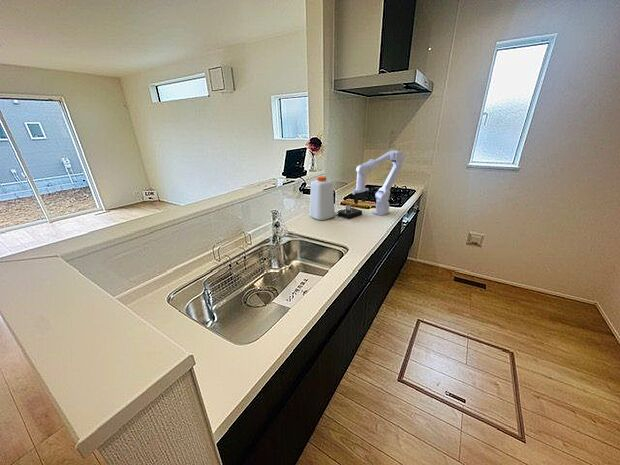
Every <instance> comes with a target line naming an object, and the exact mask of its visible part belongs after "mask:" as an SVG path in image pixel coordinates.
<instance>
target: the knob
mask: <svg viewBox="0 0 620 465" xmlns="http://www.w3.org/2000/svg"><path fill="white" fill-rule="evenodd" d="M351 208H352V205H351V204H346V205H345V209H344V210H345V211H346V212H350V211H351Z"/></svg>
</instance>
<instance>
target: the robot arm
mask: <svg viewBox="0 0 620 465" xmlns="http://www.w3.org/2000/svg"><path fill="white" fill-rule="evenodd" d="M404 159H405V154H404V152H403V151H402V150H397V149H391V150H389V151H387V152H386V153H384V154H382V155H380V156H379V157H377V158H375V159H373V158H372V159H371V158H369V159H368V161H366V162H363V163H362V164H359V165H357V166H356V168H355V172H356V186H355V187H356V188H355V189H354V190H352V191H351V196H352V199H353V202H354V204H355V205H358V203H359V198H360V197H361V202H362V203H366V200H367V197H368V195H369V194H370V190H369V189H370V188H369V187H366V177H367V176H366V175H367V174H368V172H370V171H372V170H373V169H375V168H377V165H379V164H382V163H383V162H386V161H391V163H392V167H391V169H390V171H389V173H388V175H387V177H386V179H385V181H384V183H383V185H382V187H379V189H378V190H377V191H376V192H375V194H374V197H375V201H376V202H375V210H374V211H373V212H372V214H375V215H378V216H385V215H387V214H390V202H389V200H390V196H391V188H392V187H393V185H394V183H395V181H396V179H397V177H398V175H399V173H400V171H401V170H402V168H403V164H404ZM360 194H361V195H360Z"/></svg>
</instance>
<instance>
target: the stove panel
mask: <svg viewBox="0 0 620 465" xmlns="http://www.w3.org/2000/svg"><path fill="white" fill-rule="evenodd" d="M337 215H338V217H341V218H344V219H347V220H350V219H353V218H356V217H359V216H362V215H363V210H361V209H359V208H355V207H351V211H350V212H346V211H345V209H342V210H339V211H337Z"/></svg>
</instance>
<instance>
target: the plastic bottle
mask: <svg viewBox="0 0 620 465" xmlns="http://www.w3.org/2000/svg"><path fill="white" fill-rule="evenodd" d="M309 193H310V194H309V200H310V201H309V216H310V217H311V218H313V219H314V220H316V221H317V220H318V221H324V220H329V219H332V218H334V217H335V215H336V214H335V199H334V198H335V196H334V183H333V181H332V180H329V179H327V176H324V175H320V176H317V177H316V179H315V180H311V183H310V192H309Z"/></svg>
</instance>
